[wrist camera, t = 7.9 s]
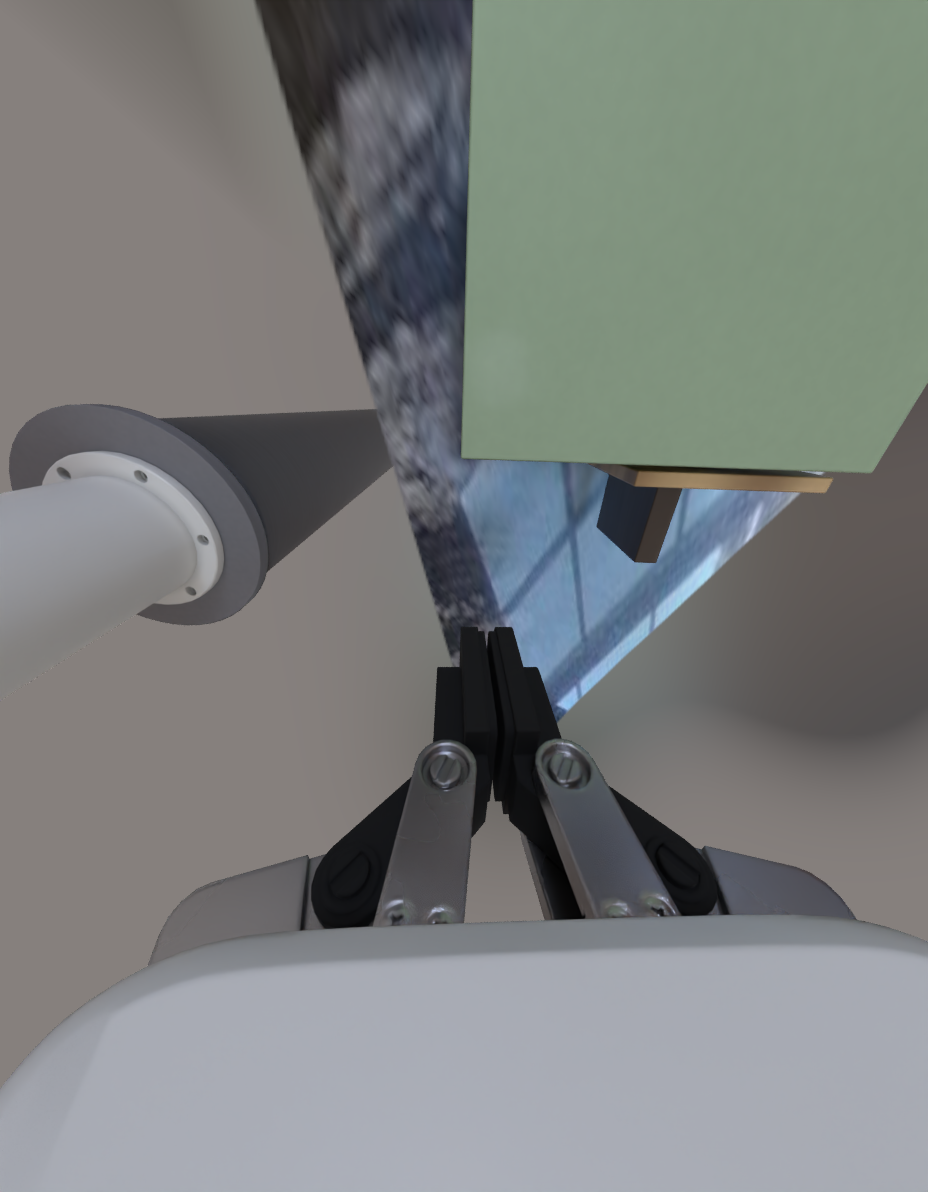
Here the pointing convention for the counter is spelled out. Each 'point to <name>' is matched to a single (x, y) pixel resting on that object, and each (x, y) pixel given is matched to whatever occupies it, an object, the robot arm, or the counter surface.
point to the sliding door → (676, 498)
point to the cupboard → (696, 231)
